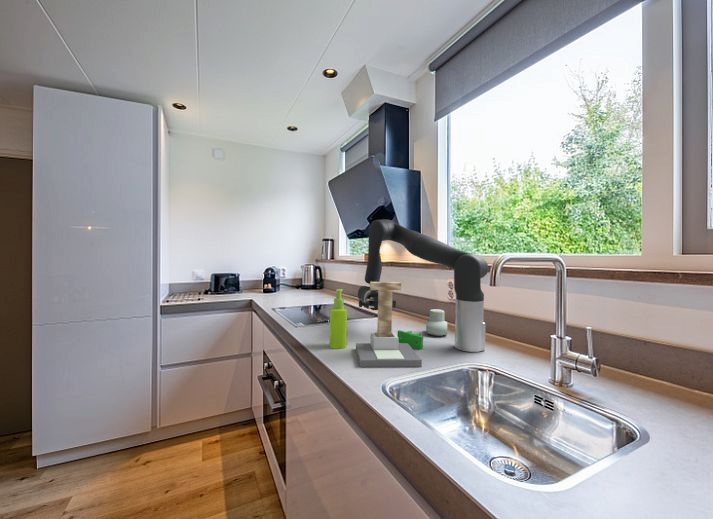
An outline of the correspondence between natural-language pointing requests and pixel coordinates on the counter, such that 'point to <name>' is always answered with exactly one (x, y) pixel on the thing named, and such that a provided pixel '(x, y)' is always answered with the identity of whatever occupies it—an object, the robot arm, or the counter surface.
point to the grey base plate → (386, 353)
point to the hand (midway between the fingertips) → (379, 306)
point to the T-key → (384, 306)
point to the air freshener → (436, 323)
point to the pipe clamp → (411, 339)
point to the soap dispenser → (338, 323)
